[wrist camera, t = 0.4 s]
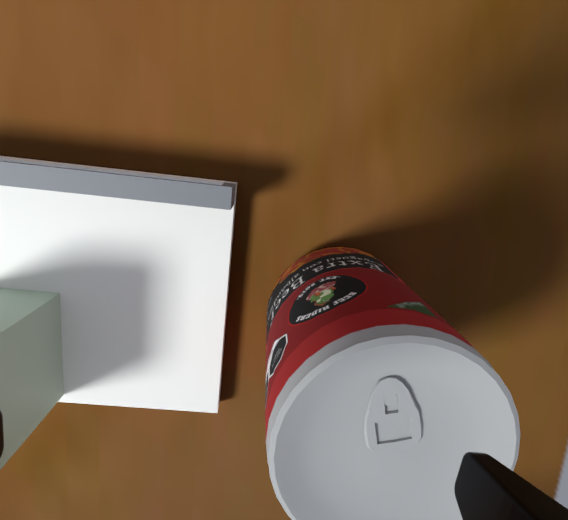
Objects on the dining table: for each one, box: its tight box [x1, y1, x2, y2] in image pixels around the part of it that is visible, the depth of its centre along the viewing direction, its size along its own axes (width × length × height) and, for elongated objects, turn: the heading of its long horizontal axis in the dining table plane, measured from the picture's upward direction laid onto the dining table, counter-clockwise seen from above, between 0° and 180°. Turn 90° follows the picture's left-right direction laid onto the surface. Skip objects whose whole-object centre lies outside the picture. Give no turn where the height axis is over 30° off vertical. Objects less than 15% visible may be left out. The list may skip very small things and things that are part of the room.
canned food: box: [265, 247, 520, 520], centre depth 17 cm, size 8×8×11 cm
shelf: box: [0, 156, 237, 413], centre depth 20 cm, size 13×14×3 cm
